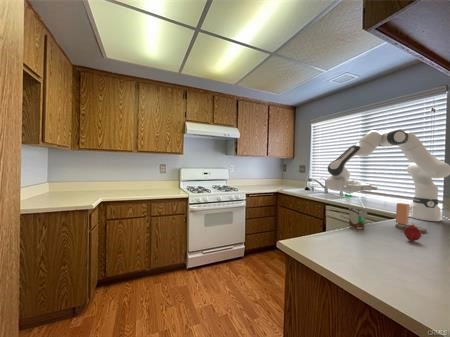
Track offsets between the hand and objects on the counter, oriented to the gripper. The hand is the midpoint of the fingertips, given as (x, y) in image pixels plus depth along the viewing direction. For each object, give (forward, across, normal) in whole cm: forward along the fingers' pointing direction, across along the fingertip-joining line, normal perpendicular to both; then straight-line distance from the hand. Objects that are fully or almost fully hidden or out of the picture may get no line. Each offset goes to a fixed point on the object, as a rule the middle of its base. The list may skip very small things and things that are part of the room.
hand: (374, 188), depth 125 cm
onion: (+24, -24, +20) cm, 39 cm away
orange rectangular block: (+14, 0, +19) cm, 23 cm away
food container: (+2, -24, +21) cm, 32 cm away
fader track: (+18, 0, +20) cm, 27 cm away
